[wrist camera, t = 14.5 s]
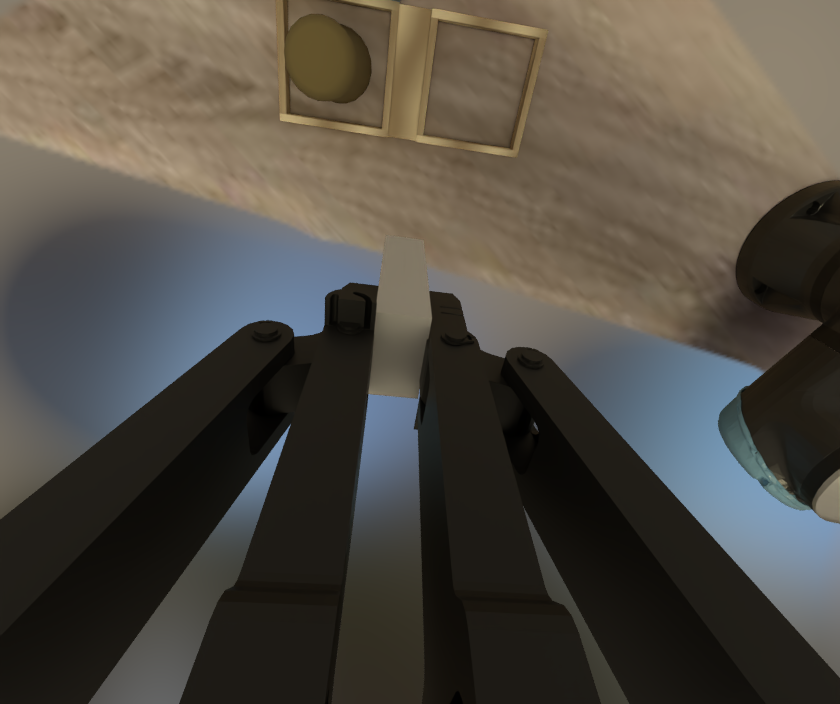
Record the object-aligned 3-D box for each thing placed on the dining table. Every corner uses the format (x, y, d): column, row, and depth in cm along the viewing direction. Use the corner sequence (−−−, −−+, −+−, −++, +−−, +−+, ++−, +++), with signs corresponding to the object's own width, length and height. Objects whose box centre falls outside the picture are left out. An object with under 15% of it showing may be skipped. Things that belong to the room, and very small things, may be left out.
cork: (297, 29, 36) (259, 10, 27) (364, 18, 36) (349, -6, 27) (315, 108, 40) (287, 114, 30) (377, 98, 39) (367, 101, 30)
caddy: (545, 25, 37) (560, 18, 33) (513, 155, 42) (523, 162, 39) (279, -26, 34) (263, -40, 30) (284, 119, 40) (271, 122, 36)
